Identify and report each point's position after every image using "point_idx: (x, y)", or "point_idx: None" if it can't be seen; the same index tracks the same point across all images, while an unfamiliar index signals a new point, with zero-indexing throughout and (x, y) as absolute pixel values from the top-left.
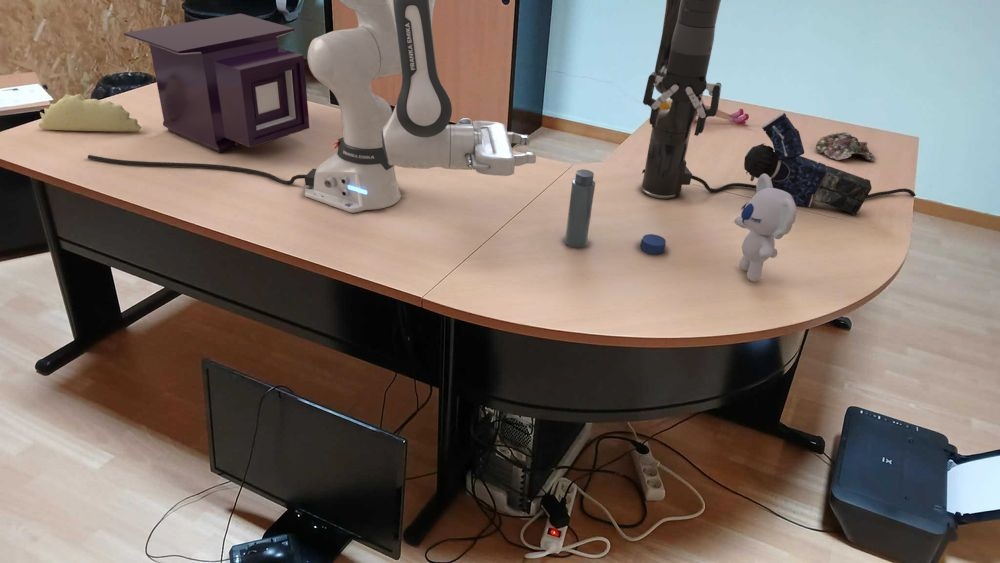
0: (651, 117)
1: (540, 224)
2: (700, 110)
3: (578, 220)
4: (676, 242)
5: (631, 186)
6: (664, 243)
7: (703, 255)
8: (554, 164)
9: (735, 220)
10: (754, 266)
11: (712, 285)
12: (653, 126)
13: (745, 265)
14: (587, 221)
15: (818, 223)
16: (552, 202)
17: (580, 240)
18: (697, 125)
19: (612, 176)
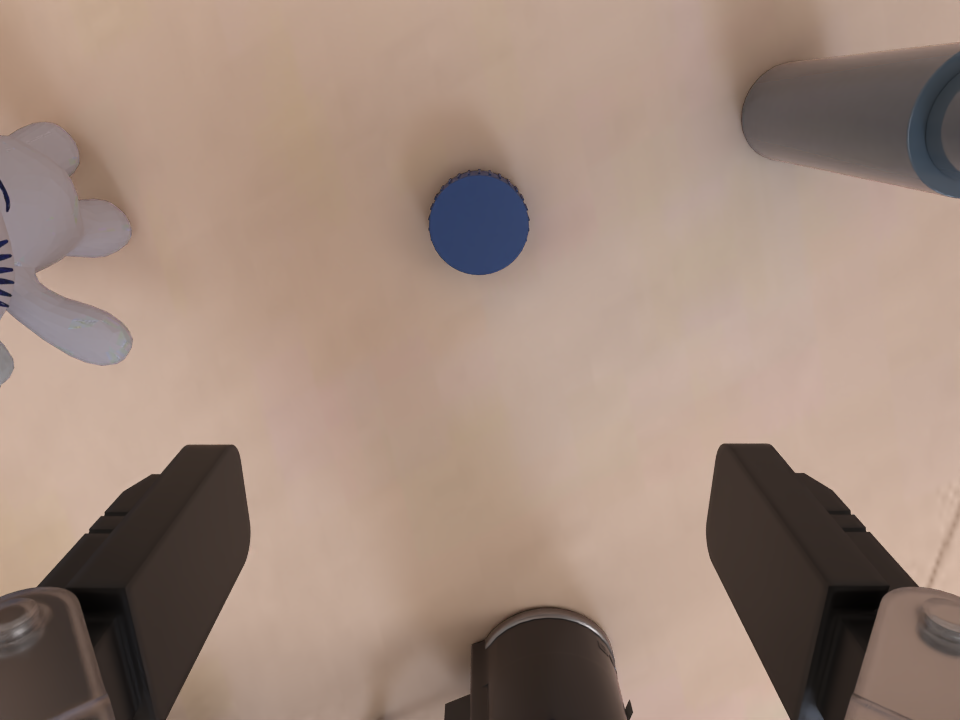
0: (842, 527)
1: (956, 201)
2: (17, 694)
3: (854, 55)
4: (404, 318)
5: (647, 654)
6: (431, 214)
7: (285, 265)
8: None
9: (119, 328)
10: (20, 136)
11: (186, 29)
12: (748, 445)
13: (92, 199)
14: (803, 89)
15: None
16: (925, 409)
17: (781, 70)
18: (165, 511)
19: (725, 694)
